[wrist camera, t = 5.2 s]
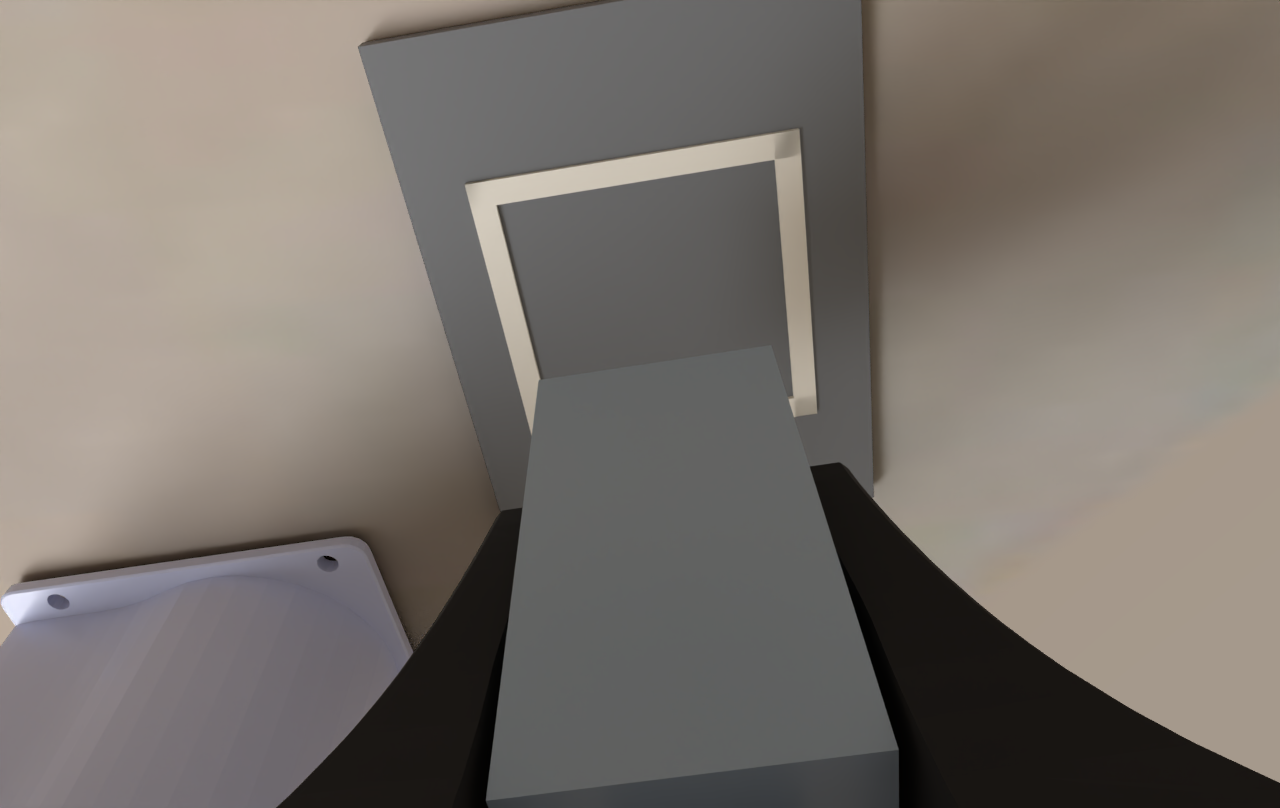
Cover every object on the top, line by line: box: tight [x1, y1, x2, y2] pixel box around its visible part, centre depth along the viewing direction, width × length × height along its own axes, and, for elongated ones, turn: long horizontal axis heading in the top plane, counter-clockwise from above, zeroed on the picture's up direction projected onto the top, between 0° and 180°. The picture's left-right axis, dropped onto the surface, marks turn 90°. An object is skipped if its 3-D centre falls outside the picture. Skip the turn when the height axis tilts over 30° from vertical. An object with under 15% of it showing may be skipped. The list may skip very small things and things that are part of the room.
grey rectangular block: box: [486, 345, 899, 808], centre depth 11 cm, size 4×4×8 cm
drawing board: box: [358, 0, 874, 512], centre depth 19 cm, size 9×12×1 cm
